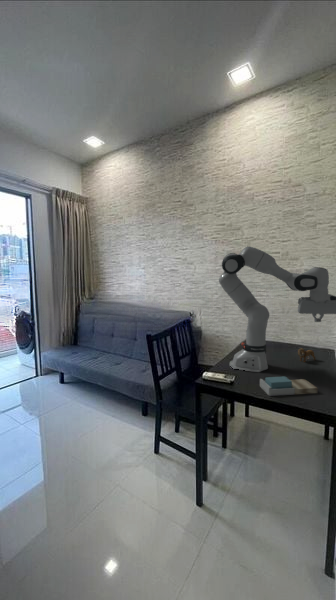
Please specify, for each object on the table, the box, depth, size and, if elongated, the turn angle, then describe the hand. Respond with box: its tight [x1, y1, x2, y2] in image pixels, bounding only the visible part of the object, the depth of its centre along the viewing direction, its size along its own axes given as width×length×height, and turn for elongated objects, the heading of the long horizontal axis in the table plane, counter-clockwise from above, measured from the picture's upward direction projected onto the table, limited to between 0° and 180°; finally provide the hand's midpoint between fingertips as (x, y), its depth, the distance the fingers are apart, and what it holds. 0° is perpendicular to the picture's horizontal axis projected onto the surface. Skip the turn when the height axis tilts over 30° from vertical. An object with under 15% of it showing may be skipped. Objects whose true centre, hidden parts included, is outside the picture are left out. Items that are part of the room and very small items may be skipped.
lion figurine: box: [297, 347, 316, 363], centre depth 161 cm, size 15×5×9 cm, turn 117°
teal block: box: [264, 375, 292, 389], centre depth 122 cm, size 5×6×10 cm
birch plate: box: [290, 378, 318, 395], centre depth 123 cm, size 11×10×2 cm
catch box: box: [259, 378, 296, 397], centre depth 122 cm, size 12×10×4 cm
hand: (317, 321), depth 140 cm, fingers closed
